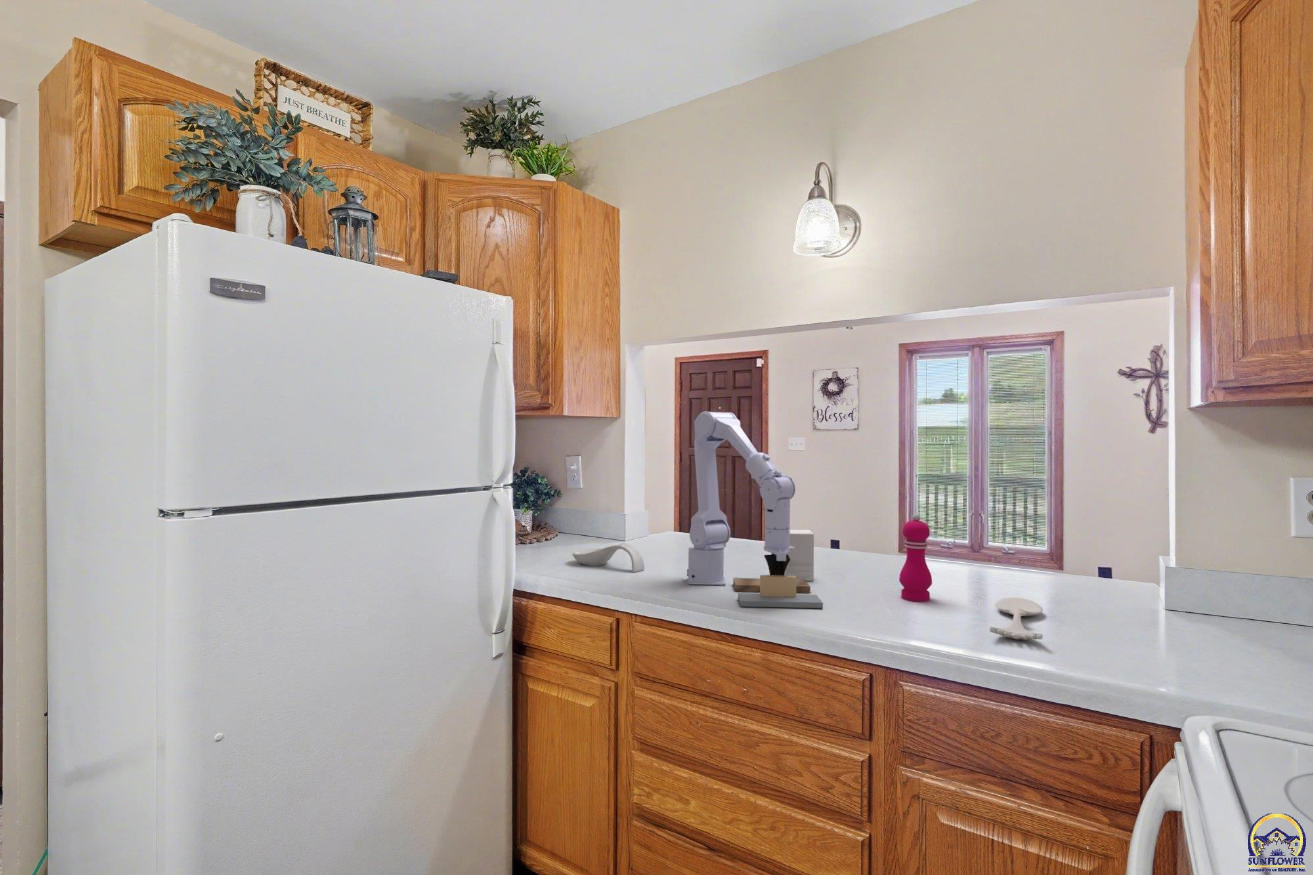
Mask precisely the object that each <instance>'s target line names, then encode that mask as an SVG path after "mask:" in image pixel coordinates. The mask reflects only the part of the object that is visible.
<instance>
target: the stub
mask: <svg viewBox="0 0 1313 875" xmlns="http://www.w3.org/2000/svg"><path fill="white" fill-rule="evenodd" d="M759 578H760V592H759V593H758V592H737V599H738V602H739V605H740V607H748V608H749V607H751V608H752V607H756V608H759V607H760V608H798V609H799V608H802V609H803V608H804V609H806V608H808V609H823V608H824V602H823V601H822V600H821V598H820V597H819V596H818V595H817V594H806V593H796V576H787V575H770V574H760V575H759Z"/></svg>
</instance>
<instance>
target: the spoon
mask: <svg viewBox="0 0 1313 875" xmlns="http://www.w3.org/2000/svg"><path fill="white" fill-rule="evenodd" d="M995 608H997V610H1000V611H1001V612H1003V613H1005V614H1009V615H1012V616H1013V618H1012V622H1011V624H1010V625H1009V626H1007V627H995V626H989V632H990V633H994V634H997V635H1000V636H1002V637H1005V638H1010V639H1014V640H1023V641H1024V640H1029V641H1030V640H1043V636H1044V635H1043V633H1035V632H1032V631H1029V630H1028V629H1026V628H1025V627H1024V625H1023V624H1022V618H1021V617H1032V616H1036V615H1037V616H1038V615H1040V614H1041V613H1042V612H1043V610H1044V609H1043V607H1042V606H1041V605H1040V604H1039V603H1037V602H1035V601H1033V600H1030V599H1027V598H1024V597H1023V598H1022V597H1005V598H1002V599H999V600H997V601H996V602H995Z"/></svg>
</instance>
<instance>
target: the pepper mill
mask: <svg viewBox="0 0 1313 875" xmlns="http://www.w3.org/2000/svg"><path fill="white" fill-rule="evenodd" d="M911 518H912V520H909V521H907V522H905V523H904V524H903V526H902V536H903V537H904V538H905V540H904V548H906V559H905V562H904V564H903V566H902V568H901V570H900V573H899V576H898V577H899V580H898V581H899V583H900V584H901V586H902V587H903V588H901V591H900V592H901V595H900V596H901V598H902V599H904V600H906V601H910V602H928V601H930V599H931V598H930V597H931V596H930V593H931V592H930V591H929V590H928V589H929V588H930V587H931V586H932V585H933V577H932V573H931V571H930V569H929V567H928V565H927V560H926V549H927V548H928V542H927V540H928V538H929V537H930V534H931V530H930V527H929V525H928V524H927V523H926V522H925V521H922V520H921V516H920V514H918V513H914V514H913V515H912V516H911Z"/></svg>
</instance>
